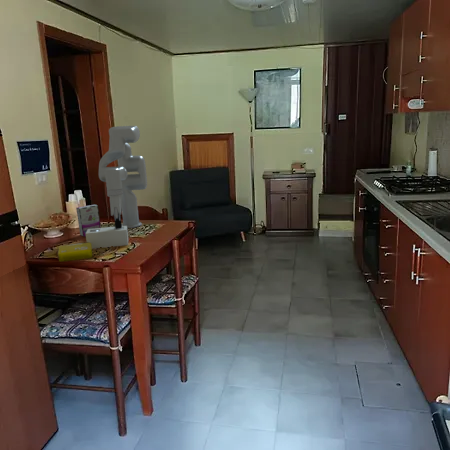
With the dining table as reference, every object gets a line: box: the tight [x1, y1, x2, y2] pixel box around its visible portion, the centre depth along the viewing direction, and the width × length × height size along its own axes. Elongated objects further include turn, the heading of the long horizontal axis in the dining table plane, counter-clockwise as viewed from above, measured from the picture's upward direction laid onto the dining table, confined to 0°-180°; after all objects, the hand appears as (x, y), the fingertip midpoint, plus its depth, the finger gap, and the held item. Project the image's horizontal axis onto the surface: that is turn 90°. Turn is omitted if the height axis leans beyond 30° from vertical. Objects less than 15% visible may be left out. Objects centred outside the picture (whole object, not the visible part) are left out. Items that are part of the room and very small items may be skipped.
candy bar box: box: [75, 204, 102, 237], centre depth 237 cm, size 11×5×16 cm, turn 131°
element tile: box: [57, 242, 94, 263], centre depth 197 cm, size 15×15×5 cm
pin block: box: [85, 226, 129, 249], centre depth 214 cm, size 10×20×8 cm, turn 101°
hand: (118, 227), depth 213 cm, fingers closed
